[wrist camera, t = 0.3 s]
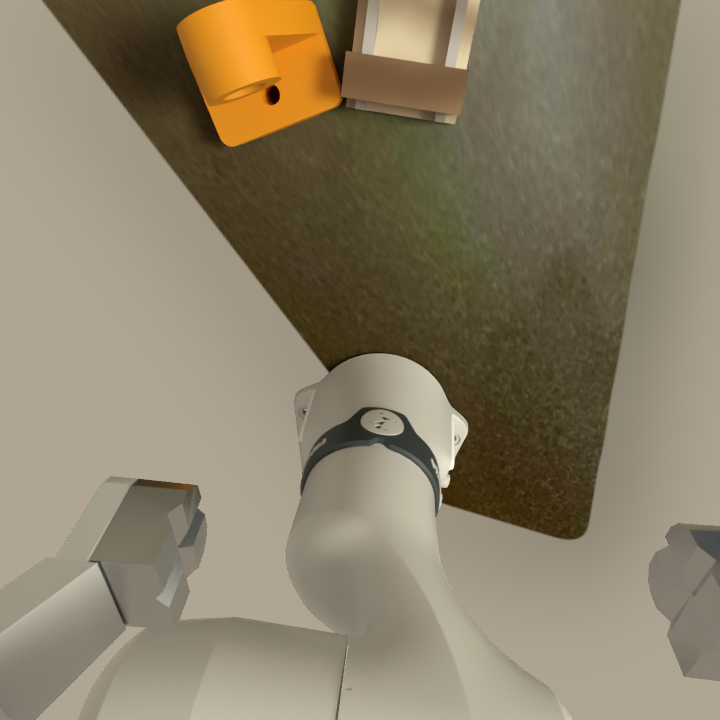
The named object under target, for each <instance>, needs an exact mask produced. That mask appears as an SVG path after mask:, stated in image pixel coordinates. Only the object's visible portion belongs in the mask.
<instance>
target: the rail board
mask: <svg viewBox="0 0 720 720" xmlns="http://www.w3.org/2000/svg"><path fill="white" fill-rule="evenodd" d="M479 4H480V0H358V7H357V15H356V24H355V32H354V41H353V50H352V52H350V51H346V54H345V63H344V72H343V81H342V90H341V97H346V98H347V101H346V107H349V108H355V109H360V110H368V111H374V112H381V113H387V114H393V115H399V116H406V117H412V118H418V119H424V120H431V121H435V122H441V123H449V124H455V122H456V117H457V115H459V116H460V111H461V106H462V101H463V96H464V91H465V87H466V82H467V77H468V72H469V70H466V68H467V63H468V58H469V53H470V48H471V43H472V38H473V34H474V29H475V24H476V19H477V14H478V9H479Z"/></svg>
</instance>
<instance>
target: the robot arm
mask: <svg viewBox="0 0 720 720" xmlns="http://www.w3.org/2000/svg"><path fill="white" fill-rule="evenodd" d="M294 404H295V413H296V421H297V429H298V437H299V445H300V453H301V461H302V470H303V472H302V475H303V476H302V480H301V500H300V503H299V506H298V509H297V512H296V515H295V518H294V521H293V525H292V528H291V531H290V534H289V537H288V541H287V546H286V562H287V569H288V573H289V576H290V579H291V581H292V584H293V586H294V588H295V590H296V591H297V593H298V595H299V597H300V598H301V600H302V602H303V603H304V605H305V606H306V607H307V609H308V610H309V611H310V612H311V613H312V614H313V615H314V616H315V617H316V618H317V619H319V620H320V621H321V622H322V623H324V624H325V625H326V626H327V627H329V628H330V629H331V630H333V631H334V632H335V633H330V632H324V631H318V630H311V629H306V628H300V627H294V626H287V625H281V624H275V623H269V622H263V621H257V620H251V619H244V618H238V617H232V618H231V617H229V618H205V619H188V620H179V619H180V617H181V614H182V611H183V608H184V606H185V603H186V600H187V598H188V595H189V592H190V591H189V587H188V583H187V579H186V578H187V577H188V576H189V575H190V574H192V573H193V572H194V571H195V570H196V569H197V568H199V565H200V562H201V559H202V556H203V553H204V548H205V542H206V537H207V523H206V518H205V514H204V513H202V512H201V511H200V510H199V509H198V505H199V503H200V500H201V495H200V492H199V488H198V486H197V485H190V484H181V483H172V482H162V481H153V480H144V479H134V478H122V477H109V478H108V479H107V480H106V481H105V482H103V483H102V484H101V485H100V487H99V489H98V490H97V492H96V493H95V495H94V497H93V498H92V500H91V502H90V503H89V505H88V506H87V508H86V509H85V511H84V513H83V514H82V516H81V518H80V519H79V521H78V522H77V524H76V525H75V527H74V529H73V530H72V532H71V533H70V535H69V537H68V538H67V540H66V541H65V543H64V545H63V546H62V548H61V549H60V551H59V553H58V554H57V556H56V557H55V558H45V559H44V560H42V561H41V562H39V563H38V564H36V565H35V566H33V567H32V568H30V569H29V570H28V571H26V572H25V573H23V574H22V575H20V576H19V577H18V578H16V579H15V580H13V581H11V582H10V583H9V584H7V585H5V586H4V587H2V588H1V589H0V720H36V718H37V717H39V716H40V714H42V713H43V711H45V710H46V709H47V708H48V707H49V705H50V704H52V703H53V702H54V701H55V700H56V698H58V697H59V696H60V695H61V694H62V693H63V692H64V691H65V690H66V689H67V688H68V687H69V686H70V685H71V684H72V683H73V682H74V681H75V680H76V679H77V678H78V677H79V676H80V675H81V674H82V672H84V671H85V670H86V669H87V668H88V667H89V666H90V665H91V664H92V663H93V662H94V661H95V660H96V659H97V658H98V657H99V656H100V655H101V654H102V652H104V651H105V650H106V649H107V648H108V647H109V646H110V645H111V644H112V643H113V642H114V640H116V639H117V638H118V637H119V636H120V635H121V634H122V633H123V631H125V629H126V627H125V626H134V627H146V628H145V629H143V630H142V631H141V632H139V633H138V634H137V635H136V636H134V637H133V638H132V639H131V640H130V641H129V642H128V643H126V644H125V645H124V646H123V647H122V648H121V649H120V650H119V652H118V653H117V654H116V655H115V656H114V657H113V658H112V659H111V660H110V662H109V663H108V664H107V666H106V667H105V668H104V670H103V671H102V673H101V675H100V676H99V677H98V679H97V680H96V682H95V684H94V685H93V687H92V689H91V691H90V693H89V695H88V697H87V699H86V701H85V704H84V706H83V709H82V711H81V714H80V716H79V719H78V720H337V719H338V720H573V719H572V718H571V716H570V715H569V713H568V712H567V710H566V708H565V707H564V705H563V704H562V702H561V701H560V700H559V699H558V697H557V696H556V695H555V693H554V692H553V691H552V690H551V689H550V688H549V687H548V686H546V685H545V684H544V683H542V682H541V681H540V680H538V679H537V678H535V677H534V676H533V675H531V674H530V673H528V672H527V671H525V670H524V669H523V668H522V667H520V666H519V665H518V664H517V663H515V662H514V661H513V660H512V659H510V658H509V657H508V656H507V655H506V654H505V653H504V652H502V650H500V649H499V648H498V647H497V646H496V645H495V644H494V643H493V642H492V641H491V640H490V639H489V638H488V636H487V635H486V634H485V633H484V632H483V631H482V630H481V629H480V628H479V626H478V625H477V624H476V623H475V621H474V620H473V619H472V618H471V616H470V615H469V614H468V613H467V611H466V610H465V608H464V607H463V606H462V604H461V603H460V601H459V600H458V598H457V597H456V595H455V593H454V592H453V590H452V588H451V586H450V585H449V582H448V580H447V579H446V576H445V574H444V571H443V569H442V565H441V561H440V554H439V548H438V542H437V532H436V521H435V518H436V516H437V513H438V510H439V508H440V506H441V502H442V493H441V487H444V488H447V486H448V484H449V481H450V475H448V474H447V473H448V471H449V470H452V469H453V467H454V458H455V456H456V454H457V452H458V450H459V448H460V447H461V445H462V443H463V441H464V439H465V437H466V436H467V433H468V423H467V421H466V420H465V418H464V417H463V416H462V415H461V414H459V413H458V412H457V411H456V410H455V409H454V408H452V407H451V405H450V404H449V402H448V400H447V398H446V396H445V393H444V391H443V389H442V387H441V386H440V384H439V383H438V381H437V380H436V379H435V378H434V377H433V376H432V375H431V374H430V373H429V372H428V371H427V370H426V369H425V368H423V367H422V366H420V365H419V364H417V363H415V362H413V361H411V360H409V359H406V358H403V357H400V356H396V355H392V354H382V353H375V354H366V355H361V356H357V357H354V358H351V359H349V360H347V361H345V362H343V363H341V364H340V365H338V366H337V367H335V368H334V369H333V370H332V371H331V372H330V373H329V374H328V375H327V376H326V377H325V378H324V379H323V380H321V381H320V382H318V383H316V384H313V385H311V386H308V387H305V388H303V389H301V390H300V391H298V392H297V394H296V397H295V401H294ZM305 408H306V409H307V411H304V409H305ZM454 436H456V437H455V438H454ZM665 537H666V539H667V541H668V544H669V546H667V547H665V548H663V549H661V550H659V551H657V552H656V553H655V554H654V556H653V558H652V560H651V562H650V564H649V576H648V581H649V586H650V592H651V595H652V597H653V600H654V603H655V606H656V608H657V609H658V610H659V611H660V612H661V613H662V614H663V615H664V616H665V617H666V618H667V619H669V621H671V624H670V628H669V630H668V633H667V636H668V638H669V640H670V643H671V646H672V648H673V650H674V653H675V655H676V658H677V660H678V662H679V665H680V667H681V670H682V672H683V675H684V677H691V678H699V679H707V680H715V681H720V526H713V525H698V524H682V523H678V524H676V525H674V526H672V527H671V528H670V530H669V531H668V533H667V534H666V536H665ZM336 633H337V634H336ZM347 644H348V645H349V648H348V655H347V661H346V668H345V676H344V683H343V690H342V697H341V704H340V696H341V688H342V681H343V674H344V666H345V658H346V650H347ZM339 704H340V712H339V718H338V711H339Z"/></svg>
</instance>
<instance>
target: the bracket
mask: <svg viewBox="0 0 720 720" xmlns="http://www.w3.org/2000/svg"><path fill="white" fill-rule="evenodd" d="M177 32H178V35H179V38H180V41H181V44H182V47H183V49H184V52H185V55H186V58H187V60H188V63H189V65H190V67H191V70H192V72H193V74H194V77H195V79H196V82H197V84H198V86H199V89H200V91H201V94H202V96H203V98H204V101H205V103H206V106H207V108H208V110H209V113H210V115H211V118H212V120H213V122H214V125H215V127H216V129H217V132H218V134H219V137H220V139H221V140H222V142H223V143H224V144H226V145H227V146H232V147H233V146H238V145H242V144H245V143H248V142H250V141H253V140H255V139H258V138H262V137H264V136H267V135H269V134H272V133H274V132H277V131H279V130H282V129H284V128H287V127H289V126H292V125H294V124H297V123H299V122H302V121H305V120H307V119H310V118H312V117H315V116H317V115H320V114H321V113H324V112H326V111H329V110H331V109H334V108H336V107H338V106H339V105H340V104H341V102H342V100H343V97H341V90H342V87H341V84H340V81H339V78H338V74H337V71H336V68H335V65H334V62H333V59H332V56H331V53H330V49H329V46H328V43H327V40H326V37H325V34H324V31H323V28H322V25H321V21H320V18H319V15H318V12H317V9H316V6H315V4H313V3H312V2H311V1H304V0H226V1H222V2H219V3H216V4H213V5H210V6H207V7H205V8H203V9H201V10H198V11H196V12H195V13H193V14H191V15H189V16H188V17H186V18H185V19H184V20H182V21H181V22H180V23H179V24H178V26H177ZM273 86H276V87H277V88H278V89H279V92H280V99H279V101H278V102H277V103H276V104H274V103H273V102H272V101H271V99H270V90H271V88H272V87H273Z"/></svg>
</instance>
